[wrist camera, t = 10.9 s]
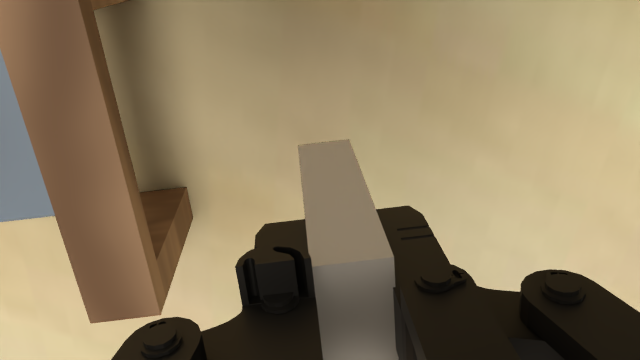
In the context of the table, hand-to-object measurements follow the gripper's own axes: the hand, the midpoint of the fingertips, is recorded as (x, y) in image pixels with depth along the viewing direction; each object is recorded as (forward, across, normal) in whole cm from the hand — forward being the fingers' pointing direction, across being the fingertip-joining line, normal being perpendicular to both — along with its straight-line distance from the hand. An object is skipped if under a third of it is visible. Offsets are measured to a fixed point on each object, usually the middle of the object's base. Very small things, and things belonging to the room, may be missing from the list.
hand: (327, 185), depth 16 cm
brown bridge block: (+14, -9, 0) cm, 17 cm away
